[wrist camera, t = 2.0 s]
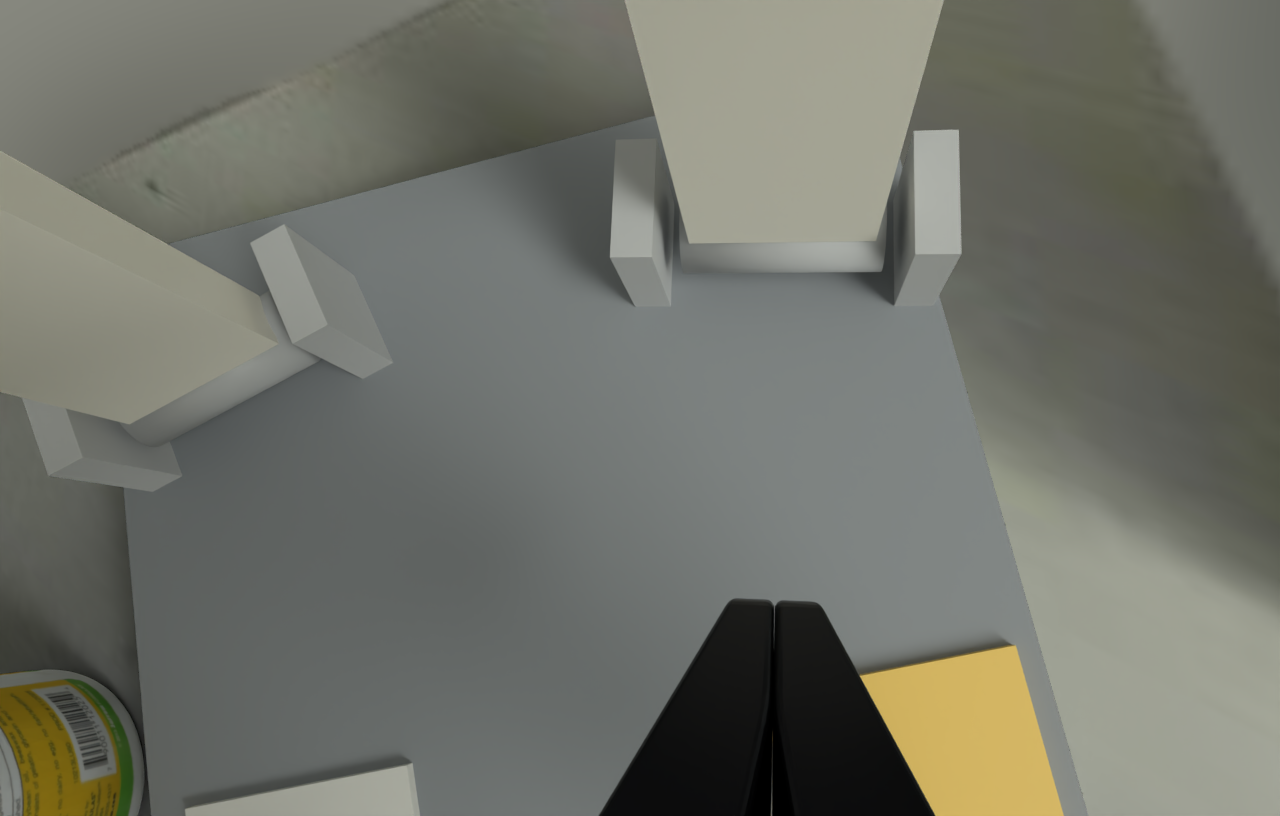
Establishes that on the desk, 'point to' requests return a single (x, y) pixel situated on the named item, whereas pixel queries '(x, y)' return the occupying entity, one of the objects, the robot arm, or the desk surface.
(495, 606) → the grey base plate
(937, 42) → the desk surface
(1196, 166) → the desk surface
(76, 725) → the supplement bottle
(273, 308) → the switch
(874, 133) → the switch
